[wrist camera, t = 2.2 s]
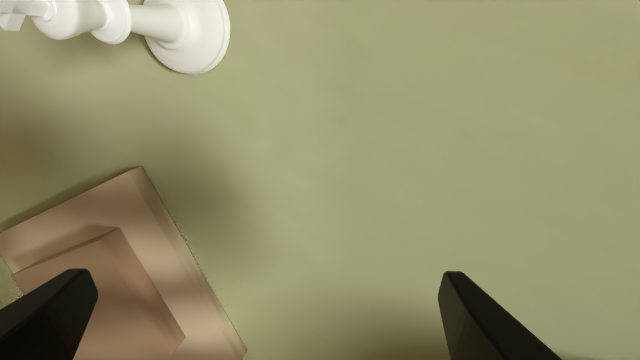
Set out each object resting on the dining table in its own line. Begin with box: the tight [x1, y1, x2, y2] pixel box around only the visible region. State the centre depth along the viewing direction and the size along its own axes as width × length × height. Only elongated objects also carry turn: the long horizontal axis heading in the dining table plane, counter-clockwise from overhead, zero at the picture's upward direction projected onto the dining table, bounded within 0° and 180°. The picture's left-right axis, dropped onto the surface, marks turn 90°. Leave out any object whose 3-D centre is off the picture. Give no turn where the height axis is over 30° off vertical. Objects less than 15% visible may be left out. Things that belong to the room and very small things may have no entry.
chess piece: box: [0, 0, 230, 74], centre depth 15 cm, size 5×5×10 cm
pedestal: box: [0, 166, 247, 360], centre depth 25 cm, size 15×15×3 cm
